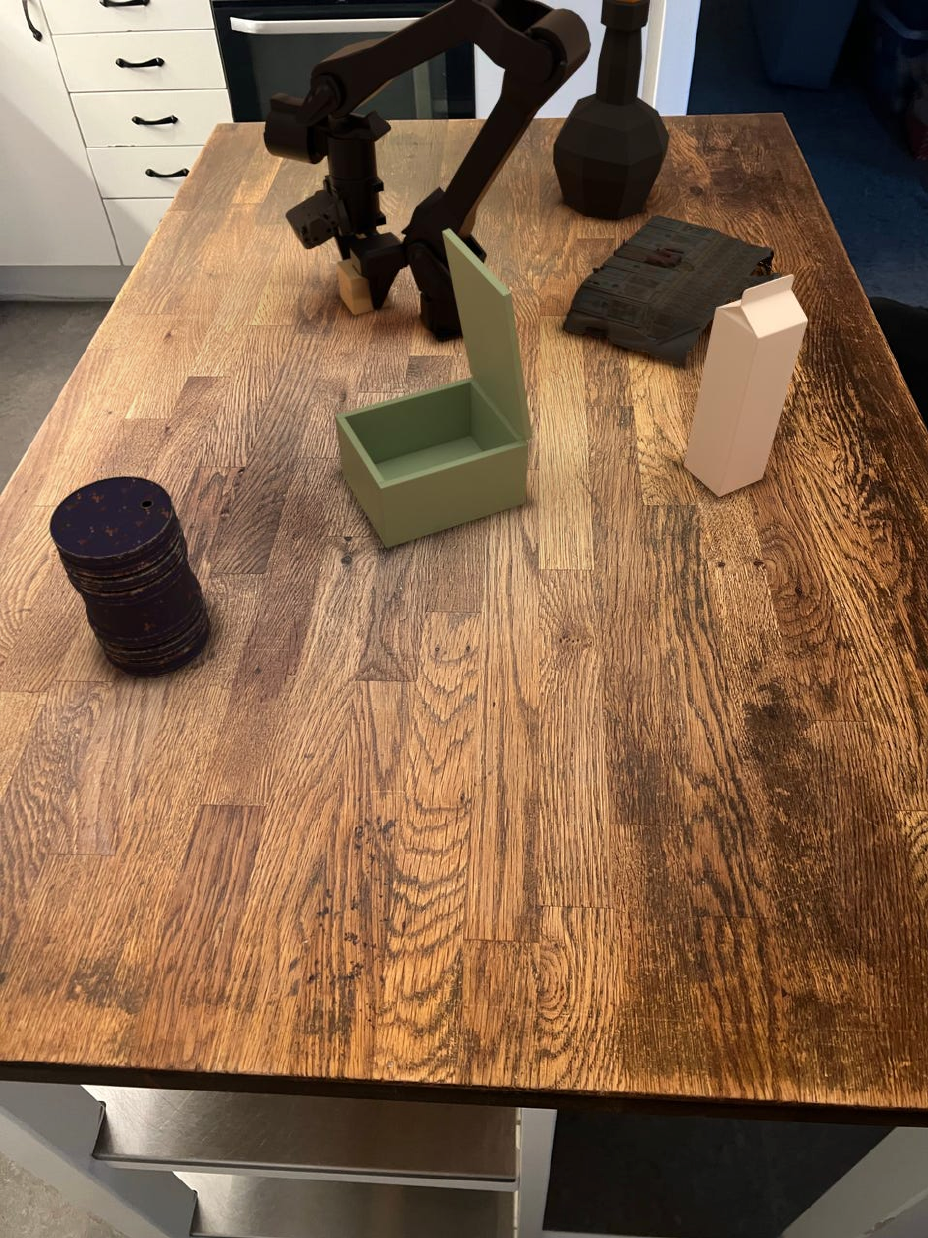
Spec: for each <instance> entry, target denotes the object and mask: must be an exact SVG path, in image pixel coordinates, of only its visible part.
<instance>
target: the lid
mask: <svg viewBox="0 0 928 1238" xmlns="http://www.w3.org/2000/svg"><path fill="white" fill-rule="evenodd" d="M442 233H443V238H444V243H445V248H446V253H447V258H448V263H449V268H450V273H451V278H452V283H453V288H454V293H455V298H456V303H457V308H458V313H459V318H460V323H461V328H462V333H463V336H462V337H463V342H464V347H465V352H466V357H467V363H468V368H469V372H470V375H471V377H474V378H475V379H476V381H477V382H478V383H479V384H480V386H481V387H482V388H483V389H484V390H485V392H486V393H487V394H488V395H489V397H490V398H491V399H492V400H493V401H494V403H495V404H496V405H497V406H498V408H499V409H500V410H501V411H502V412H503V414H504V415H505V416H506V417H507V419H508V420H509V421H510V422H511V423H512V425H513V426H514V427H515V428H516V430H517V431H518V432H519V433H520V434H521V436H522V437H523V438H524V439H525V441H527V442H528V441H529V440H531V439H533V431H532V424H531V417H530V411H529V404H528V403H529V402H528V398H527V390H526V384H525V377H524V369H523V363H522V357H521V350H520V342H519V336H518V330H517V323H516V315H515V309H514V303H513V301H514V300H513V296H512V292H511V291H510V290H509V289H508V287H507V286H506V285H505V284H504V283H503V282H502V281H501V280H500V279H499V278H498V277H497V275H495V274H494V273H493V272H492V270H490V269H489V267H487V266H486V264H485V263H484V264H483V263H482V262H481V261H480V260H479V259H478V257H477V256H476V255H475V254H474V253H473V252H472V251H471V250H470V249H469V248H468V247H467V246H466V245H465V244H464V243H463V242H462V241H461V240H460V239H459V238H458V237H457V236H456V235H455V234H454V233H453V231H452V230H451V229H447V230H444V231H442Z"/></svg>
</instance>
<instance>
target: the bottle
mask: <svg viewBox="0 0 928 1238" xmlns="http://www.w3.org/2000/svg"><path fill="white" fill-rule="evenodd" d="M650 6H651V0H602V1H601V12H600V24H601V25H602V26H604V27H605V30H604V34H603V39H602V43H601V47H600V52H599V56H598V61H597V71H596V72H597V73H596V83H595V84H596V85H595V93H592V94H589V95H586V96H583V97H580V98H578V99H577V101H576V102H575V103H574V105H573V107H572V109H571V110H570V112H569V114H568V115H567V117H566V119H565V120H564V122H563V124H562V126H561V128H560V129H559V132H558V134H557V136H556V138H555V139H554V142H553V145H552V147H553V148H552V164H553V167H554V171H555V174H556V178H557V181H558V185H559V187H560V191H561V192H560V193H561V195H562V198H563V201H564V204H566V205H567V206H568V207H570V208H571V209H573V210H575V211H576V212H578V213H579V214H581V215H582V216H584V217H588V218H599V219H608V220H619V219H624V218H626V217H630V216H632V215H633V216H634V215H637V214H639V213H642V211H643V209H644V207H645V204H646V203H647V200H648V198H649V196H650V194H651V192H652V189H653V188H654V186H655V183H656V180H657V178H658V176H659V174H660V172H661V169H662V167H663V165H664V162H665V159H666V157H667V153H668V147H669V142H670V136H671V135H670V133H669V131H668V130H667V127H666V126H665V123H664V122H663V119H662V117H661V114H660V113H659V111H658V110H657V109H656V108H654V107H653V106H652V105H650V104H649V103H648V102H646V101H645V100H643V99H641V98H640V97H639V96H638V95H639V89H640V88H639V87H640V80H641V72H642V63H643V33H642V31H643V28H645V27H646V26H647V24H648V22H649V16H650V8H651V7H650Z"/></svg>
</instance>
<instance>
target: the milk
mask: <svg viewBox="0 0 928 1238" xmlns="http://www.w3.org/2000/svg"><path fill="white" fill-rule="evenodd" d="M781 277H782V278H779V279H776V280H773V281H770V282H767V283H764V284H761V285H758V286H755V287H752V288H749V289H746V290H745V291H744V293H743V295H742V299H741V300H735V301H733V302H730V303H727V304H726V303H725V304H724V305H723V306H721V307H718V308H716V311H715V316H714V318H713V320H712V326H711V331H710V335H709V341H708V345H707V350H706V355H705V358H704V365H703V369H702V374H701V378H700V379H701V380H700V384H699V389H698V394H697V399H696V404H695V409H694V413H693V418H692V423H691V428H690V433H689V437H688V442H687V447H686V453H685V456H684V460H683V467H684V468H685V469H686V470H687V471H689V472H690V473H691V474H692V475H693V476H694V477H695V478H696V479H698V481H699V482H701V483H702V484H703V485H704V486H705V487H706V488H708V490H710V491H711V492H712V493H713V494H714V495H715V496H716V497H718V498H720V497H722V496H725V495H728V494H730V493H732V492H735V491H738V490H739V489H742V488H744V487H746V486H749V485H752V484H754V483H756V482H758V481H761V480H762V479H764V475H765V471H766V468H767V464H768V460H769V457H770V453H771V450H772V447H773V444H774V441H775V436H776V434H777V429H778V425H779V422H780V419H781V415H782V413H783V409H784V405H785V402H786V399H787V394H788V392H789V388H790V384H791V381H792V377H793V374H794V371H795V367H796V363H797V360H798V356H799V354H800V350H801V346H802V342H803V339H804V336H805V332H806V329H807V325H808V322H809V319H808V317H807V316H806V313H805V312H804V310H803V308H802V307H801V304H800V303H799V300H798V299H797V296H795V294H794V292H793V290H792V287H793V283H794V279H795V275H794V274H792V273H790V274H788V275H784V276H781Z"/></svg>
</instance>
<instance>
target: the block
mask: <svg viewBox="0 0 928 1238" xmlns="http://www.w3.org/2000/svg"><path fill="white" fill-rule="evenodd" d="M352 264H353V262H352V259H347V260H343V261H342V260H339V261H336V268H337V278H338V285H339V295H340V299H342V301H343V302H344V304H345V305H346V306H347V308H348V310H349V311H350V312H351V313H352V315H353V316H358V315H361V314H364V313H369V312H373V311H375V310H374V309H373V307H372V304H371V300H370V297H369V293H368V289H367V285H366V281H365V278H363V277H361V276H360V275H359V274H358V273H357V272H356V270H355V269H354V268H353V266H352ZM389 293H390V292H389ZM389 293H388V295H387V297H386V299H385V302H384V304H383V306H382V308H381V309H385V308H388V307H390V294H389Z"/></svg>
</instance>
